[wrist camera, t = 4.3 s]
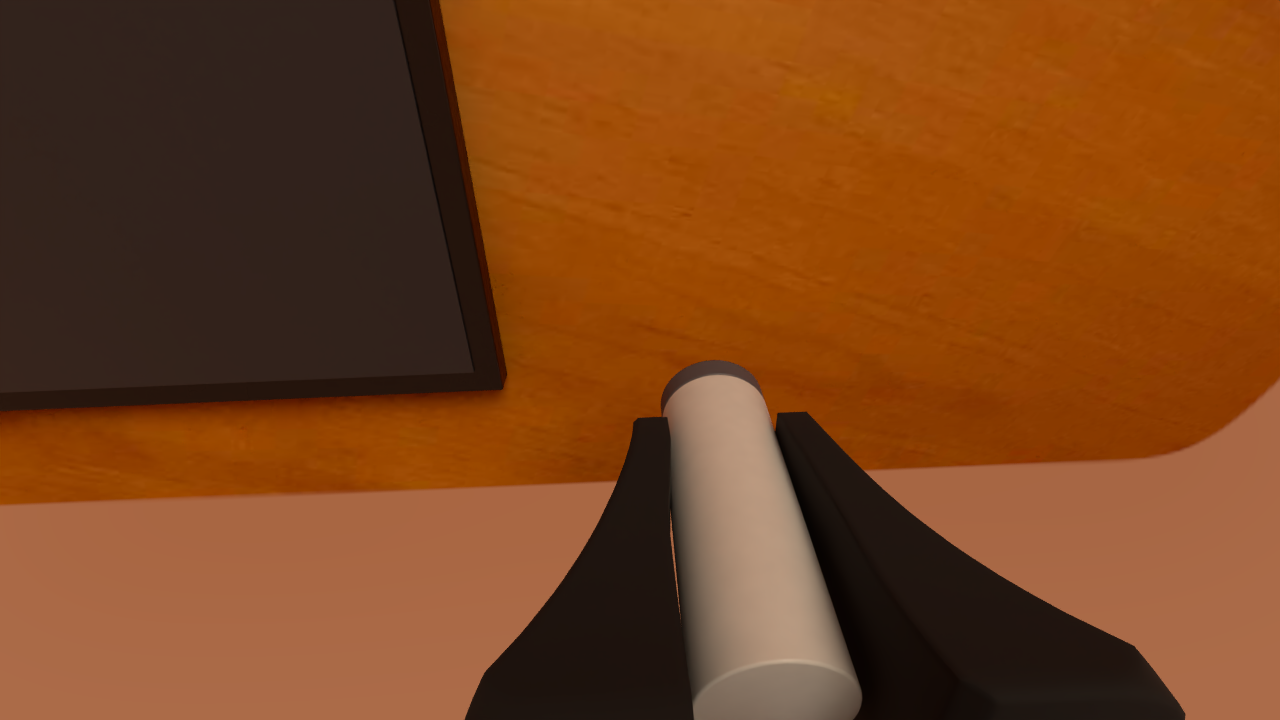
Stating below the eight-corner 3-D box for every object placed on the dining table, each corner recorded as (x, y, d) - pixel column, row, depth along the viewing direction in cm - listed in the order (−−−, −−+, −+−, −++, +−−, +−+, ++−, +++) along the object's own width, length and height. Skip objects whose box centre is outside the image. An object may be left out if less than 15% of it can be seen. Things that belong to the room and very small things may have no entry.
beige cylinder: (756, 438, 15) (848, 750, 9) (660, 441, 15) (688, 756, 9) (765, 356, 14) (878, 657, 8) (660, 360, 14) (691, 665, 8)
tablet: (507, 374, 21) (502, 392, 20) (-82, 400, 21) (-112, 418, 20) (410, -159, 13) (396, -168, 12) (-518, -123, 13) (-596, -130, 12)
